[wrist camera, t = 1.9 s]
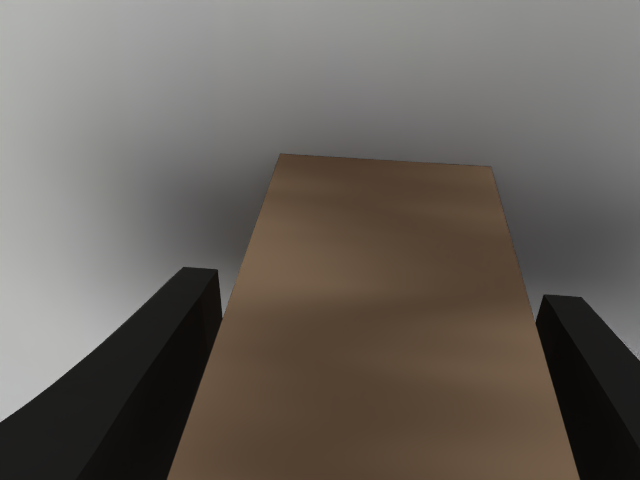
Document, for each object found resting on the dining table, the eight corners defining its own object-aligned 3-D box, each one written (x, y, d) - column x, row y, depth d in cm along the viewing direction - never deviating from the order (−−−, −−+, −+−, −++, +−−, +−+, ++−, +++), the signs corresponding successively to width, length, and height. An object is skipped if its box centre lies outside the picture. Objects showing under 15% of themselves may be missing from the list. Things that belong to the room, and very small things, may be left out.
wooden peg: (490, 166, 11) (623, 636, 5) (459, 325, 14) (520, 790, 7) (280, 153, 12) (131, 578, 5) (283, 310, 14) (185, 744, 7)
